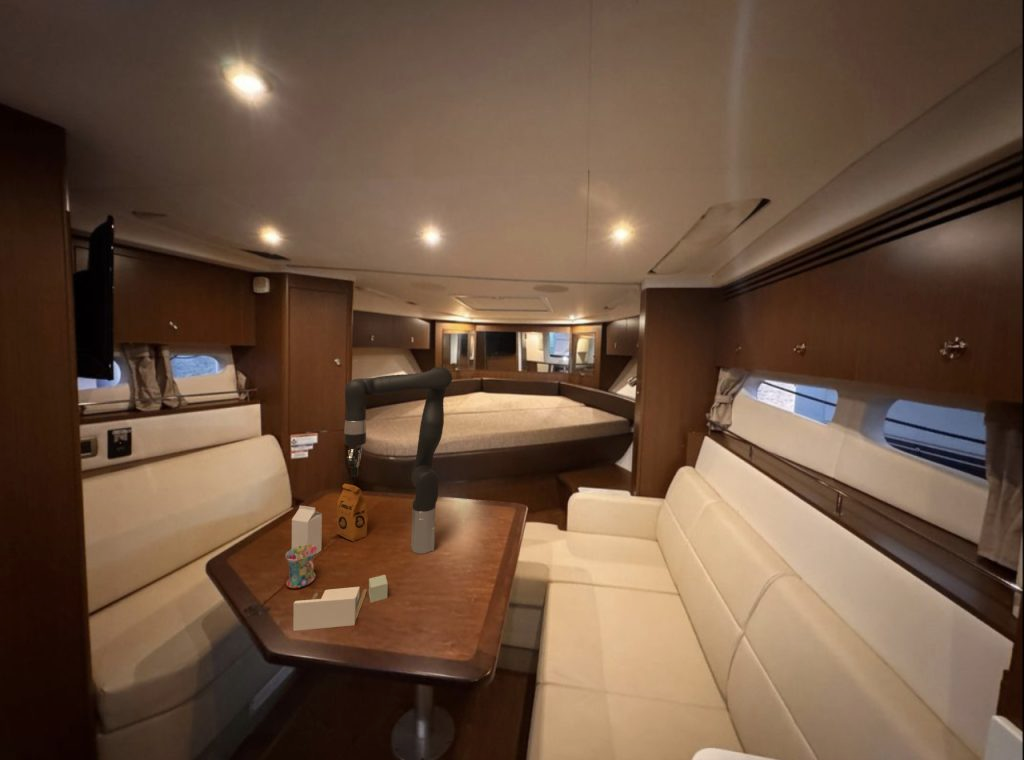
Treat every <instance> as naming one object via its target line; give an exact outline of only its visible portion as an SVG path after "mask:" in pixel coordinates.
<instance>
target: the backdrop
mask: <svg viewBox="0 0 1024 760" xmlns="http://www.w3.org/2000/svg"><path fill="white" fill-rule="evenodd" d="M355 605H356V596H352V597H339V598H327V599H321V598H316V599H314V600H311V599H305V600H303V599H302V600H295V601H294V602H293V621H292V622H293V629H292V630H293V632H295V631H296V632H298V631H308V630H317V629H318V630H319V629H329V628H338V627H340V628H341V627H349V626H350V627H351V626H355V624H356V621H355Z"/></svg>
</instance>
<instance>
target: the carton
mask: <svg viewBox="0 0 1024 760" xmlns="http://www.w3.org/2000/svg"><path fill="white" fill-rule="evenodd" d="M360 589H361V588H360V586H353V587H343V588H331V589H325V590H324V592H323V594H322V596H321V598H320V599H327V598H339V597H352V596H356V605H355V610H356V608H357V605H358V603H359V600H360V594H361V593H360Z"/></svg>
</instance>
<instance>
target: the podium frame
mask: <svg viewBox="0 0 1024 760" xmlns="http://www.w3.org/2000/svg"><path fill="white" fill-rule="evenodd" d="M367 592H368V588H363V590H362V592H361V596H359V602H358V605H357V608H356V610H355V622H357V618H358V616H359V613H360V611H361V607H362V606H363V603H364V601H365V597H366V596H367V595H366V594H367ZM318 595H319V592H314V593H313V595H312V597H311V598H310V600H314V599H317V597H318Z"/></svg>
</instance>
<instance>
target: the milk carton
mask: <svg viewBox="0 0 1024 760" xmlns="http://www.w3.org/2000/svg"><path fill="white" fill-rule="evenodd" d="M322 522H323V514H322V513H321V512H319V511H317V510H316V507H315V506H314V507H313V506H307V505H299V507H298V509H297V511H296V513H295V514H294V516H293V517H292V519H291V549H293V548H295V547H298V546H301V545H314V546H316V547H317V552H316V554H315V556H316V555H317V554H319V553H320V552H321V551H322V542H323V541H322V537H323V534H322V531H323V530H322V529H323V528H322V526H323V525H322V524H323V523H322Z"/></svg>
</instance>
